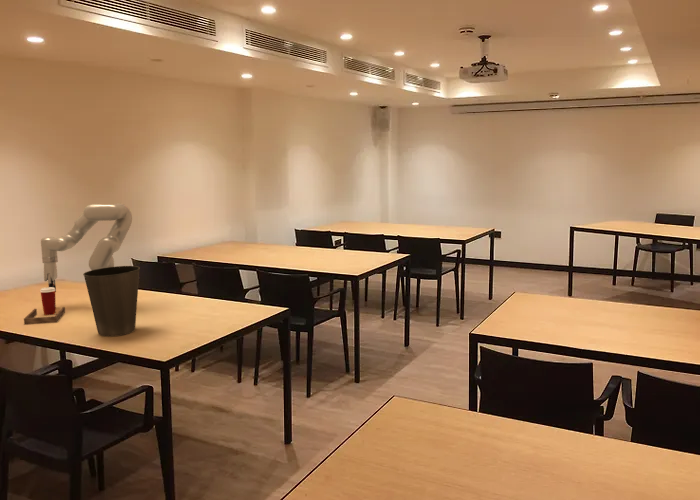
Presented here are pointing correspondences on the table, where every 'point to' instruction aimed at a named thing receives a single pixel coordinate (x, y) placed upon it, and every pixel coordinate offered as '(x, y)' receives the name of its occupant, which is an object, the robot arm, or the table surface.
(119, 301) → the waste basket
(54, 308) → the paper cup
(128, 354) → the table surface
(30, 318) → the u rest
